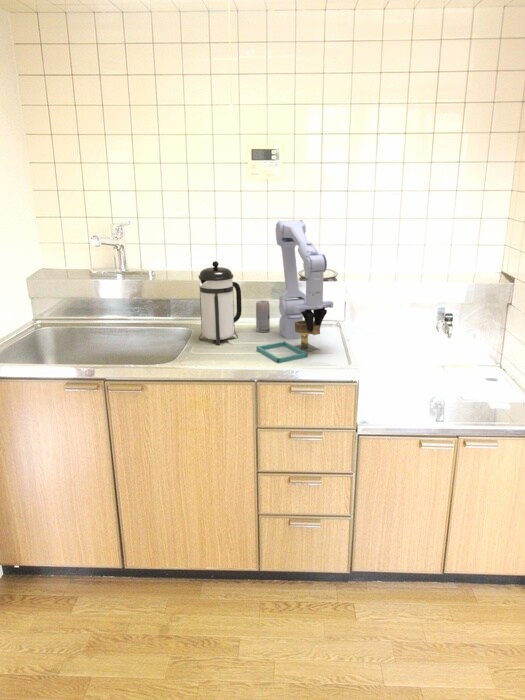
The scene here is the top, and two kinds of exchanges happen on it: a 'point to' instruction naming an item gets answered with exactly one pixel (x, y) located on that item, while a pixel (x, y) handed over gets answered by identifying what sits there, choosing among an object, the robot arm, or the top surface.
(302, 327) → the ring
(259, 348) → the tray
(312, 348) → the base
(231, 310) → the coffee press
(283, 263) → the robot arm
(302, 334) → the gold t-shaped peg
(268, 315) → the energy drink
